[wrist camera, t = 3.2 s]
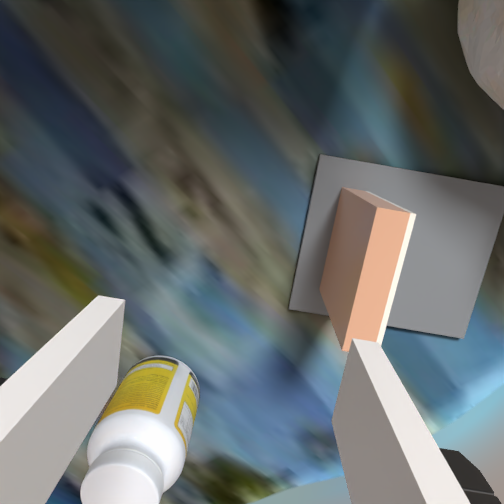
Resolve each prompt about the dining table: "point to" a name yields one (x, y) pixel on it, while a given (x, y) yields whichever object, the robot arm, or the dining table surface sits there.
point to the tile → (364, 264)
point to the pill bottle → (142, 434)
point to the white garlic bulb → (484, 43)
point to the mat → (420, 244)
